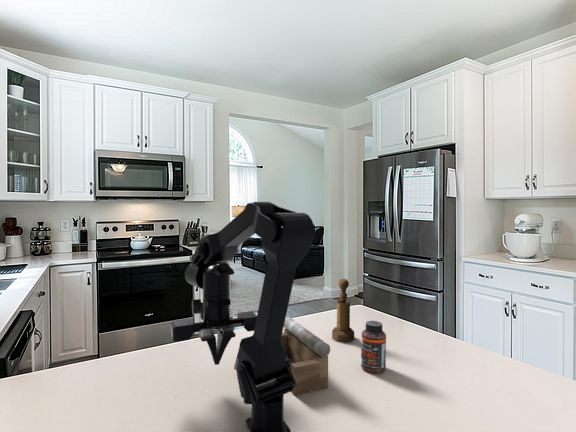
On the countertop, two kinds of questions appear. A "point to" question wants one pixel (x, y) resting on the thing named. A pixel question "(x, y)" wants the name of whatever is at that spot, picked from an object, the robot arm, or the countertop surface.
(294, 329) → the cradle
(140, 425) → the countertop surface
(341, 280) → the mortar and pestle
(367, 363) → the supplement bottle
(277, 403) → the robot arm
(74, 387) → the countertop surface
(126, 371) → the countertop surface
